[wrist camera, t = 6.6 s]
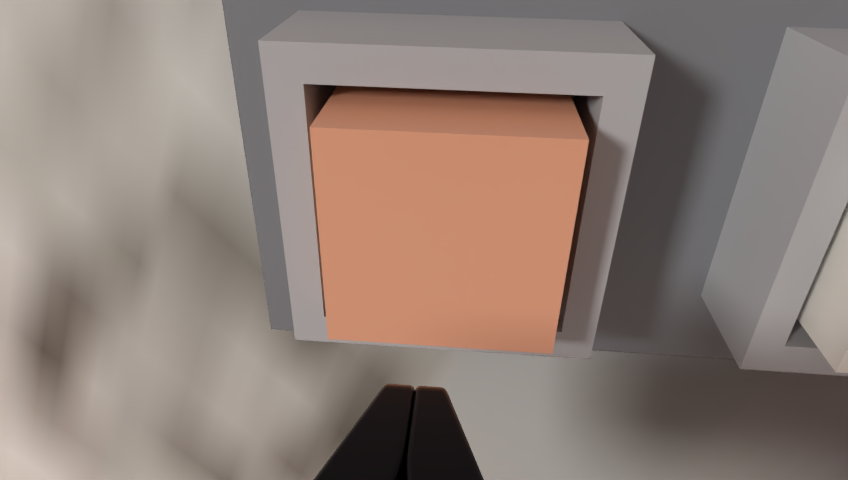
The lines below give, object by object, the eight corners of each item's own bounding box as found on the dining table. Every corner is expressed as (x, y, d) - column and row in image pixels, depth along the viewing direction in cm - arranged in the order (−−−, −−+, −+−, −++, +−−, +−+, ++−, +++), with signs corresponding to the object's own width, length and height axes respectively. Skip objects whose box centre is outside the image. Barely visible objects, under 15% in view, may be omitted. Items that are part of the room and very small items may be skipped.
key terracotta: (540, 276, 16) (552, 353, 13) (352, 265, 16) (327, 338, 13) (567, 88, 13) (589, 140, 11) (342, 79, 13) (309, 127, 11)
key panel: (952, 333, 19) (1084, 460, 15) (288, 291, 21) (238, 399, 16) (1211, -87, 13) (1560, -70, 9) (238, -108, 14) (137, -102, 10)
